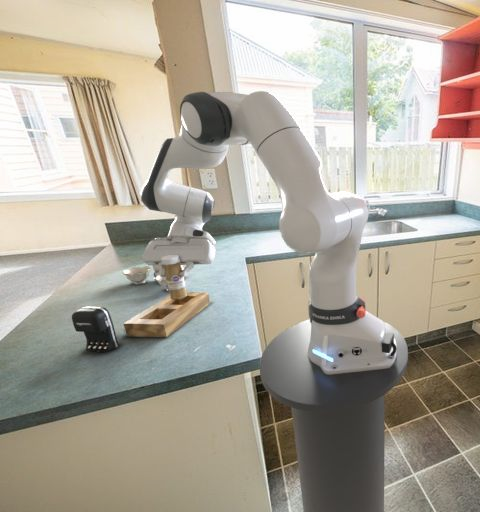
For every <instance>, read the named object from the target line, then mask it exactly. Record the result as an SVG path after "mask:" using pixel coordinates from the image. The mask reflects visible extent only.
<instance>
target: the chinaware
mask: <svg viewBox="0 0 480 512" xmlns="http://www.w3.org/2000/svg"><path fill="white" fill-rule="evenodd" d="M185 267H186V266H185V265H181V270H183V269H184V268H185ZM152 269H153V271H154V272H153V277H154V278H153V280H154V281H156V282H157V283H158V285H159V286H161V287H162V288H163V289H165V290H166V291H167V292H169V289H168V285H167V281H166V278H162V277H160V271H161V270H160V268H159V266H158V265H152ZM150 271H151V268H150V267H149V265H146V266H142V267H140V266H134V267H131V268H130V269H126V270H123V271H122V274H123V275H124V276H125V277H126V279H127V280H128V281H130V282H133V284H134V285H141V284H145V283H146V282H147V281H146V280H147V279H148V277H149V276H150ZM185 278H186V277H184V279H185Z"/></svg>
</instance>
